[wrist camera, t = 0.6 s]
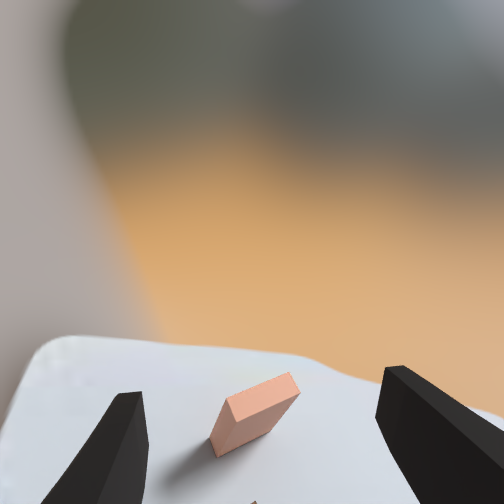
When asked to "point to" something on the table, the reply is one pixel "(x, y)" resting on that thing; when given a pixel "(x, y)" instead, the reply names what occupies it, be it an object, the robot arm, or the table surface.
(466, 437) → the robot arm
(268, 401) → the terracotta domino
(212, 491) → the table surface
